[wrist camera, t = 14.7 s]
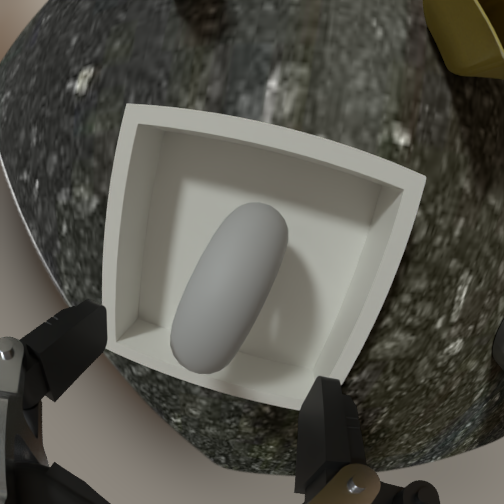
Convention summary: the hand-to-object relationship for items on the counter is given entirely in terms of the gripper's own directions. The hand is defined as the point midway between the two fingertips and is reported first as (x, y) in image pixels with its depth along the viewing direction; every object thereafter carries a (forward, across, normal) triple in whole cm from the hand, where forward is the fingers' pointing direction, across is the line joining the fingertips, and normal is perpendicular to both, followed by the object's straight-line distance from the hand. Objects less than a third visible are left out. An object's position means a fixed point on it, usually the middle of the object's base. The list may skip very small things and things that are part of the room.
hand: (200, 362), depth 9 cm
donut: (+12, 0, 0) cm, 12 cm away
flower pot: (+13, -13, -23) cm, 29 cm away
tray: (+12, 0, 0) cm, 12 cm away
